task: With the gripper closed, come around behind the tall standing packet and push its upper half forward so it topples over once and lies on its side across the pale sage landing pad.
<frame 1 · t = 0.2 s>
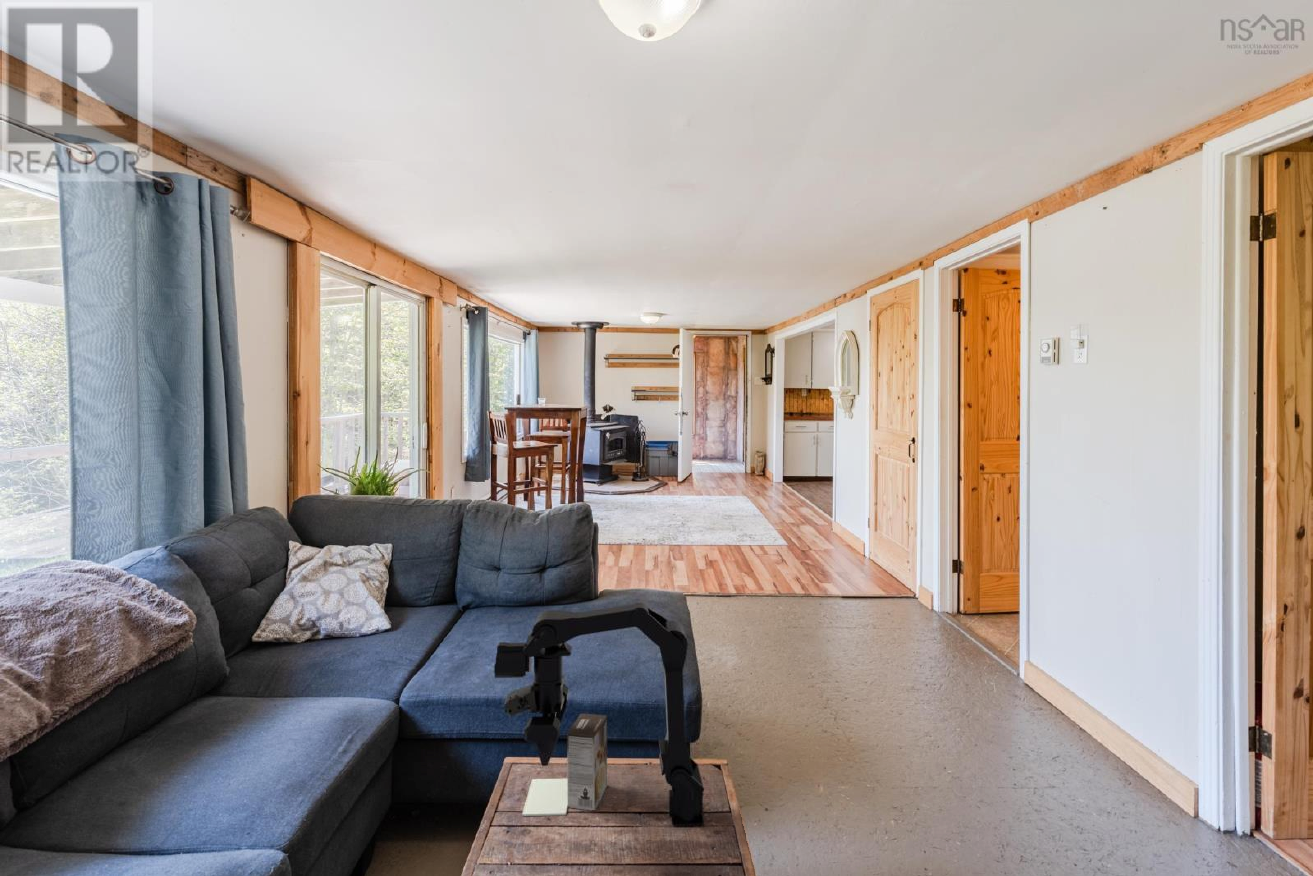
hand: (548, 752, 119), 14 cm above the table, tool pointing down, fingers open, 9 cm apart
coffee box: (587, 797, 127), on the table
landing pad: (548, 797, 127), on the table
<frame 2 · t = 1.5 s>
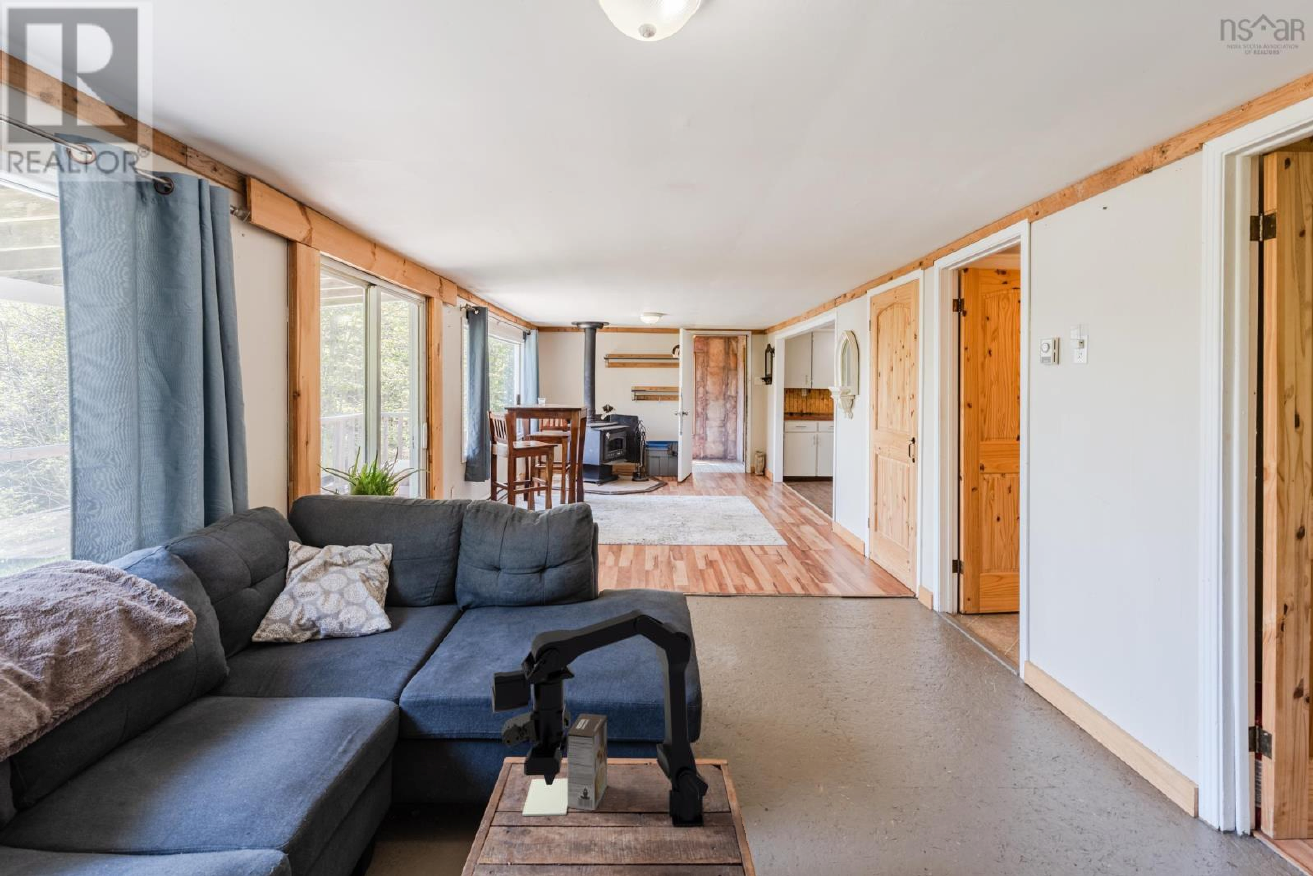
hand: (549, 784, 111), 13 cm above the table, tool pointing down, fingers closed
nothing on the table moved.
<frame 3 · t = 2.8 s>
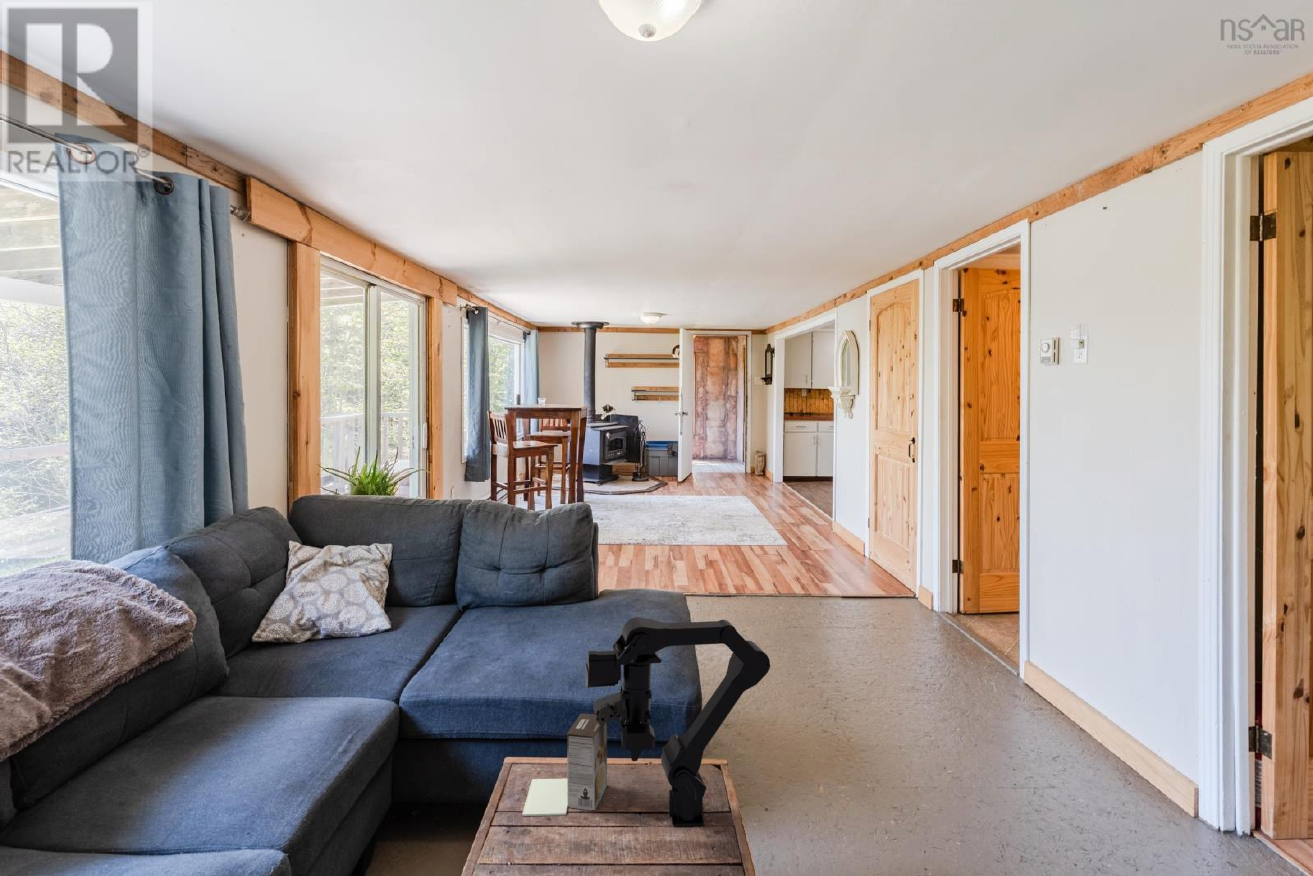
hand: (634, 760, 119), 13 cm above the table, tool pointing down, fingers closed
nothing on the table moved.
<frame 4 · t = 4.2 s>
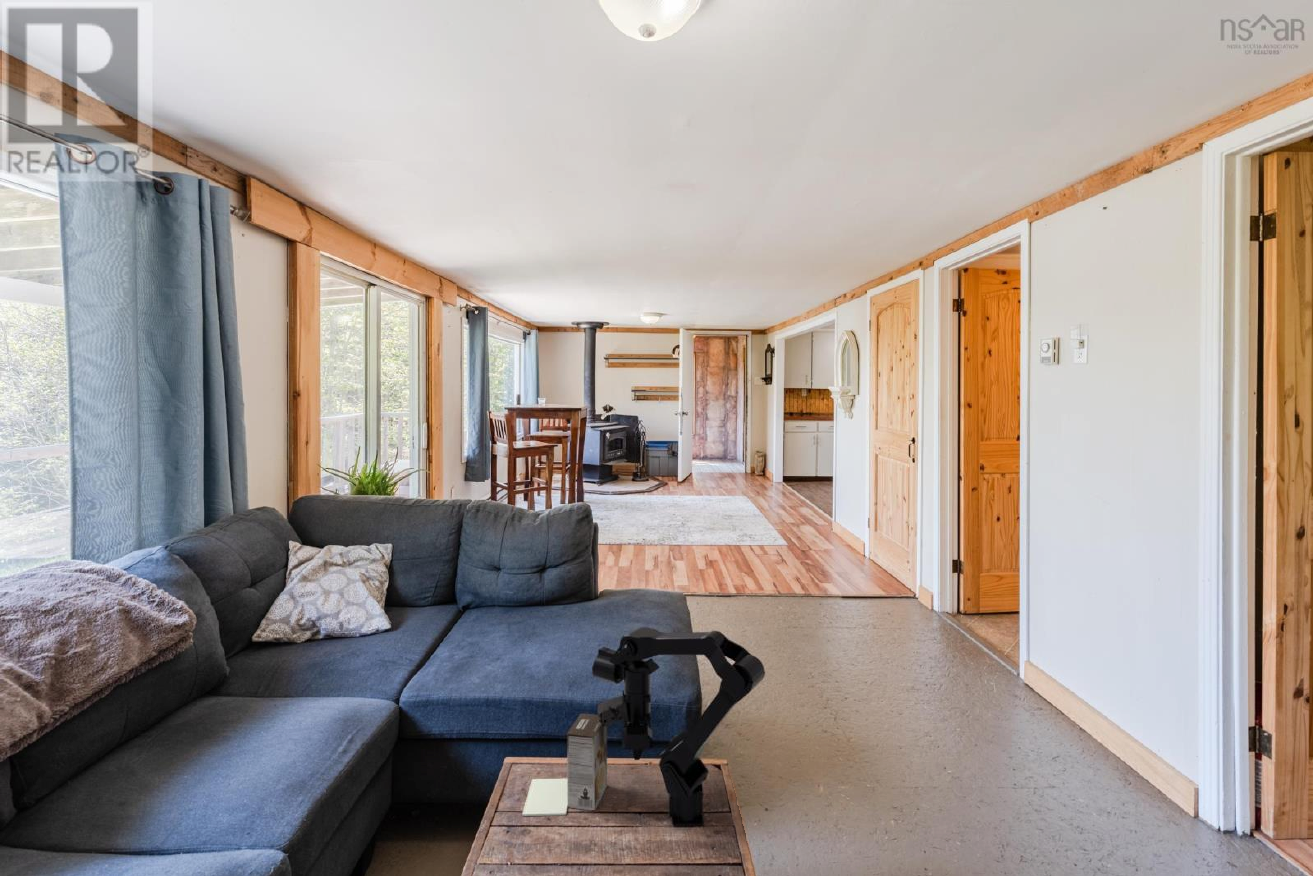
hand: (636, 759, 128), 8 cm above the table, tool pointing down, fingers closed
nothing on the table moved.
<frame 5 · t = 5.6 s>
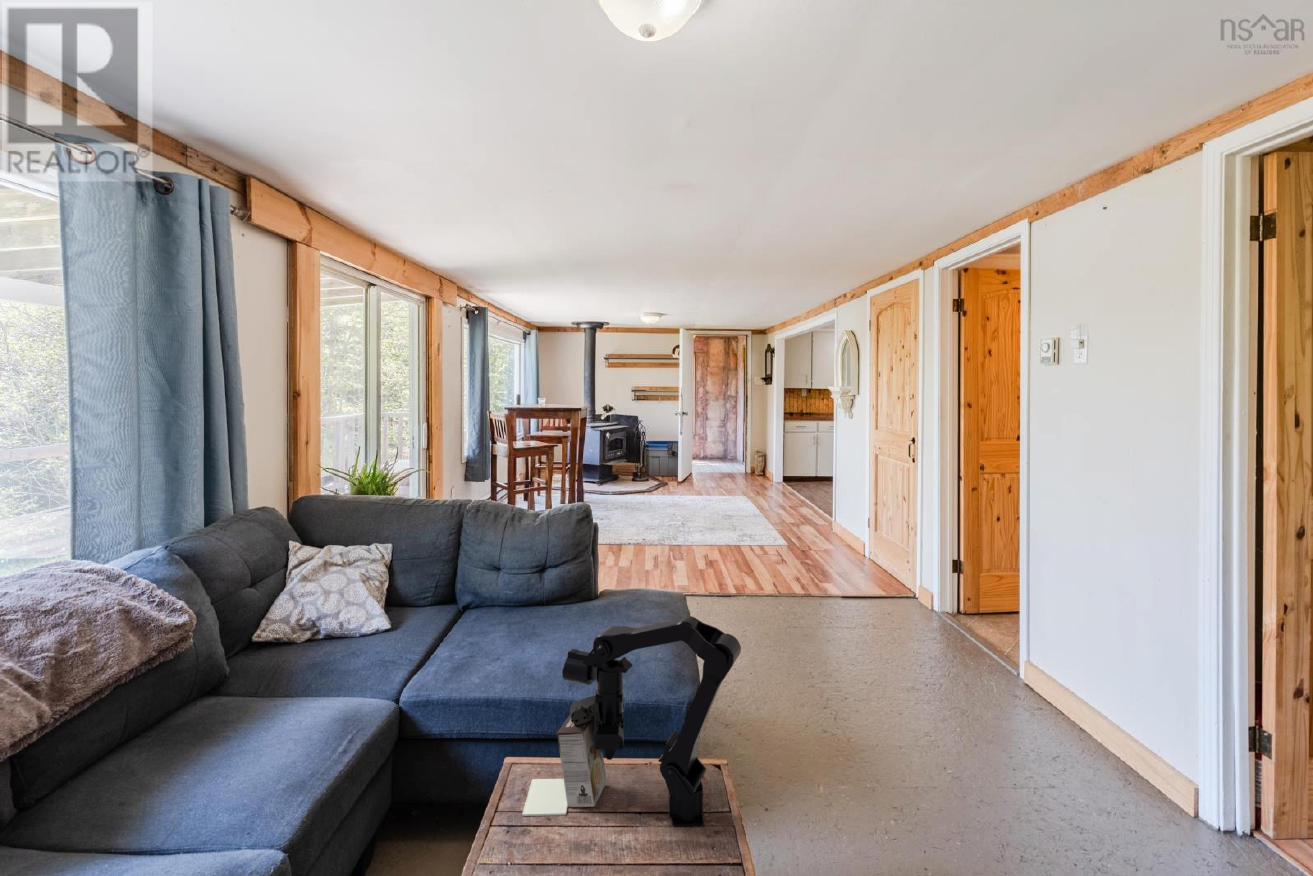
hand: (609, 758, 128), 8 cm above the table, tool pointing down, fingers closed
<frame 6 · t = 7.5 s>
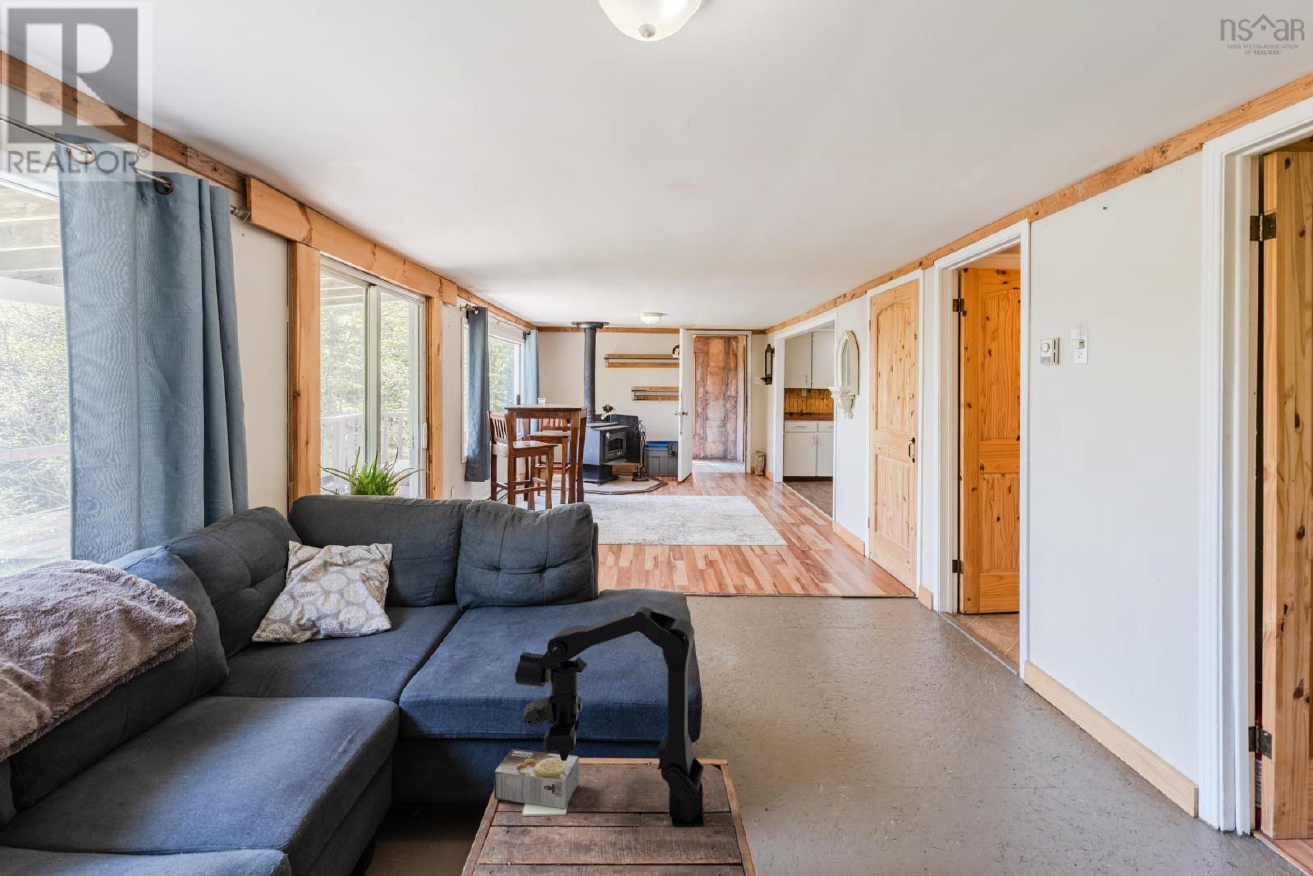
hand: (564, 760, 127), 8 cm above the table, tool pointing down, fingers closed
coffee box: (573, 782, 127), point 4 cm above the table, touching landing pad
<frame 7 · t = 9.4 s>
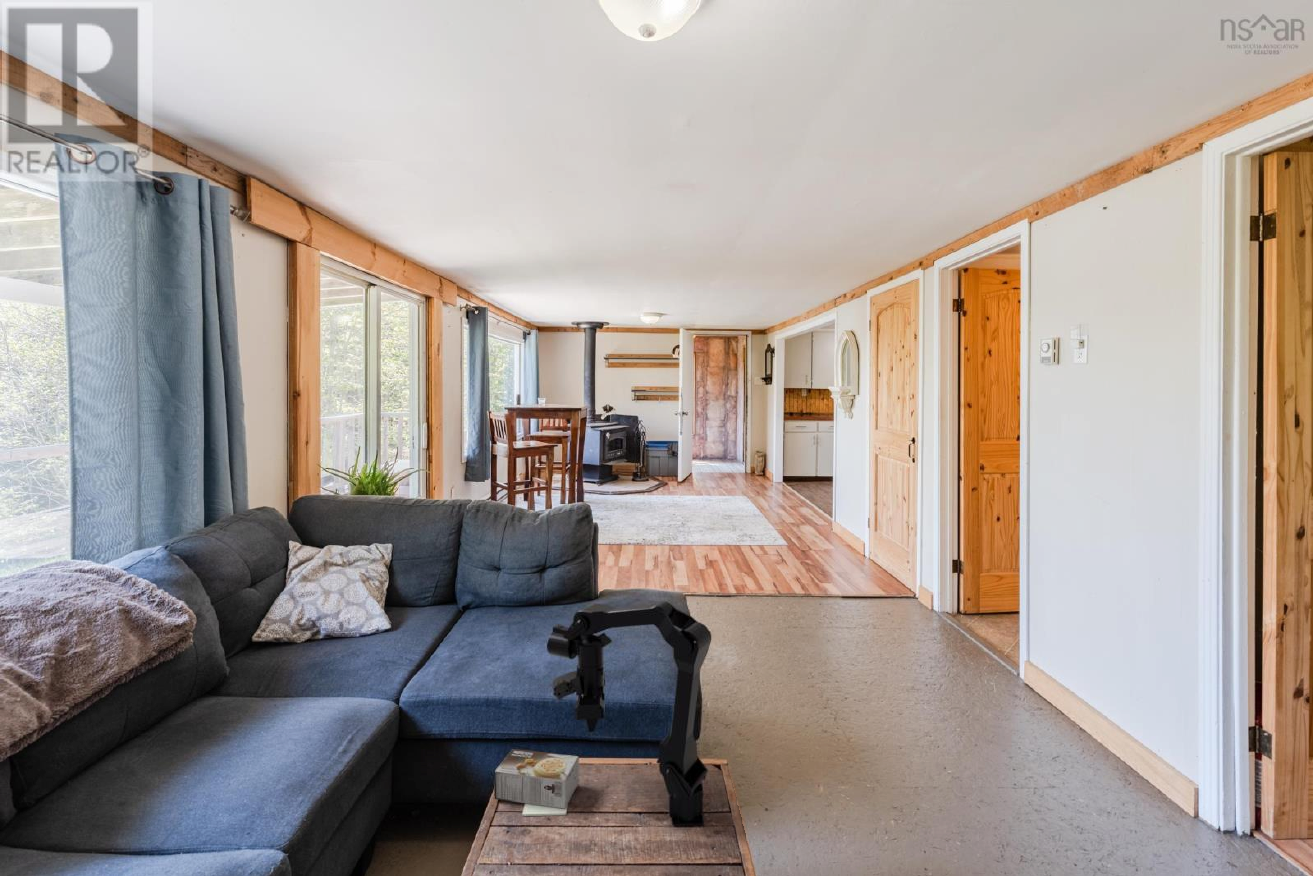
hand: (591, 731, 132), 12 cm above the table, tool pointing down, fingers closed
nothing on the table moved.
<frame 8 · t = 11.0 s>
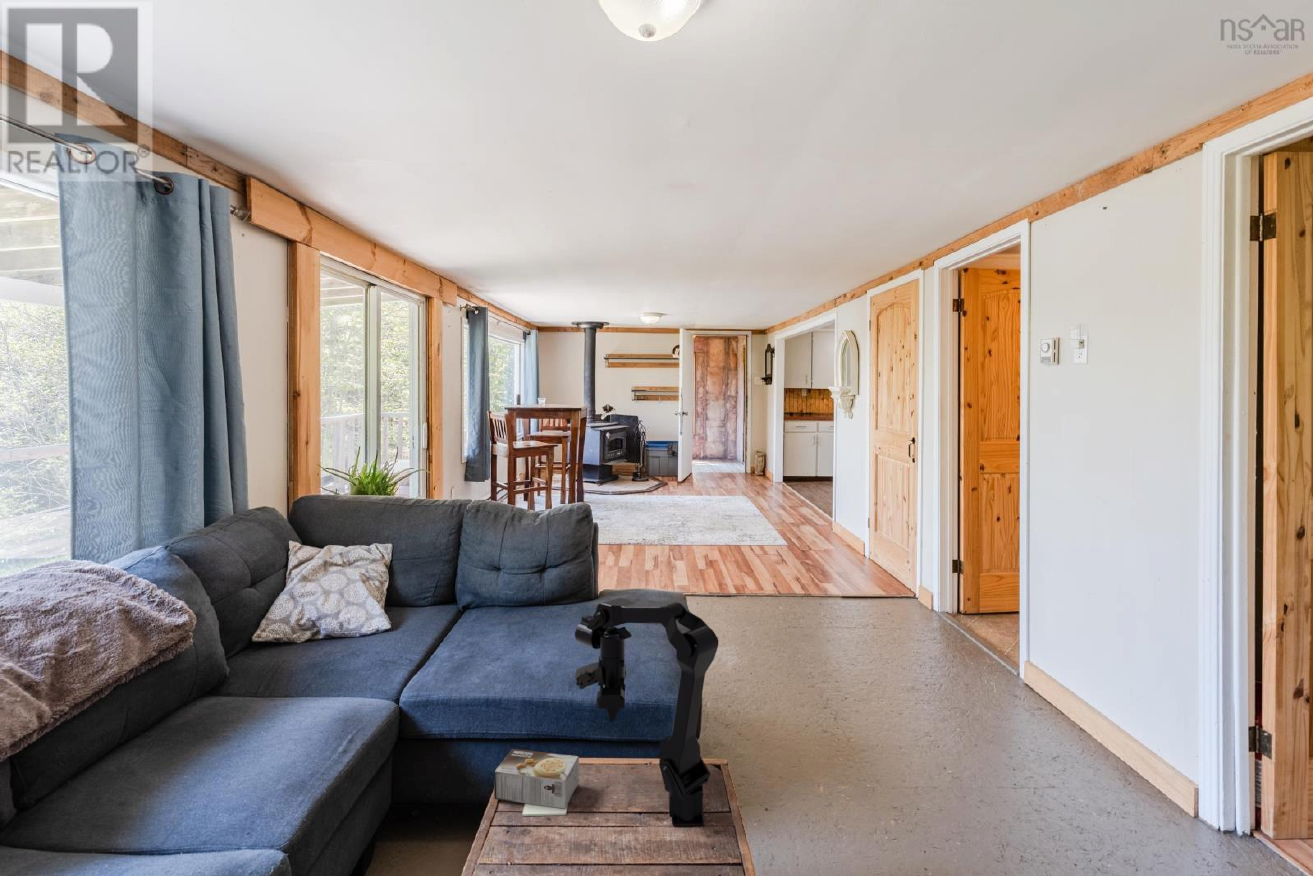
hand: (612, 720, 136), 12 cm above the table, tool pointing down, fingers closed
nothing on the table moved.
at the end: coffee box tilted 90°; coffee box inside the target area (1.5 cm from its centre), point 3.6 cm above the table; coffee box touching landing pad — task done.
